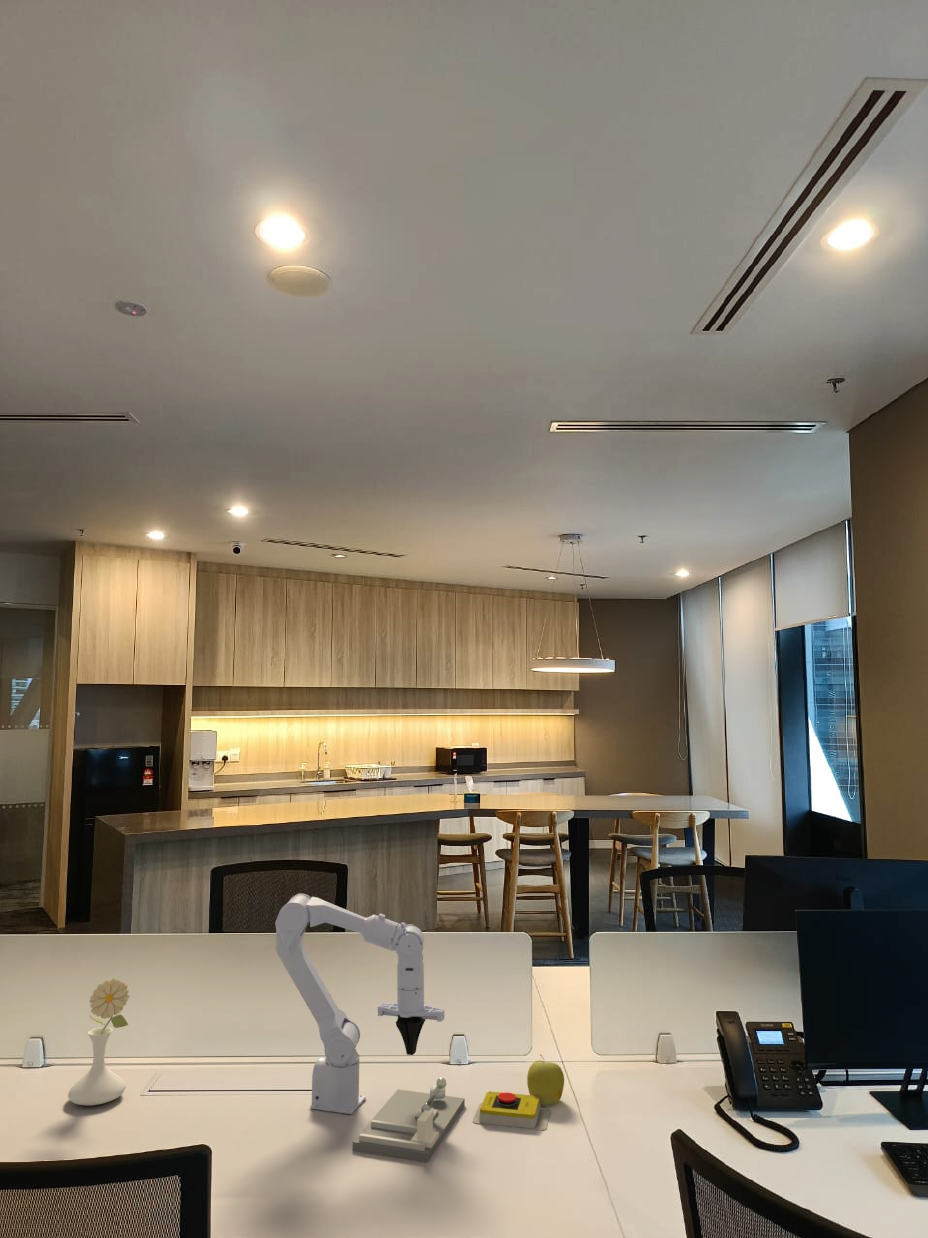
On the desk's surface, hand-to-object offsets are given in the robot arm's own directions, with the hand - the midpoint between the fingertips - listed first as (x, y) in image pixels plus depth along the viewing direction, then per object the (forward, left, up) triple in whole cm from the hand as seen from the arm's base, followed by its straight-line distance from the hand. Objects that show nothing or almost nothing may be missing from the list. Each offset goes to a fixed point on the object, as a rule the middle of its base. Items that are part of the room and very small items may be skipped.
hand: (411, 1053), depth 182 cm
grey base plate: (+3, -9, -10) cm, 14 cm away
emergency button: (+22, +1, -11) cm, 24 cm away
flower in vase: (-64, -17, -11) cm, 67 cm away
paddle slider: (+9, -17, -9) cm, 21 cm away
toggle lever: (+6, -7, -7) cm, 12 cm away
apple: (+27, +10, -11) cm, 31 cm away
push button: (+6, 0, -8) cm, 10 cm away
